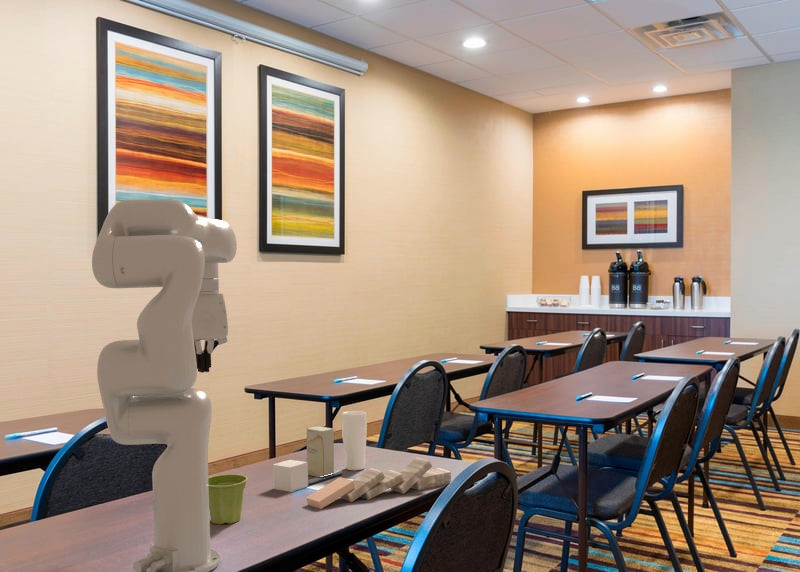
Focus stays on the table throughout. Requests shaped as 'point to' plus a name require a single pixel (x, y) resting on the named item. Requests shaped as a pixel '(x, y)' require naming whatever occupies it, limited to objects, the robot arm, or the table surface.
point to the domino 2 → (364, 484)
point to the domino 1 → (330, 493)
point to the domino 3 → (384, 484)
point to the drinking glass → (354, 438)
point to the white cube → (290, 475)
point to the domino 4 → (412, 474)
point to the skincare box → (320, 451)
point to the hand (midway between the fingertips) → (203, 371)
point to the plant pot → (226, 497)
